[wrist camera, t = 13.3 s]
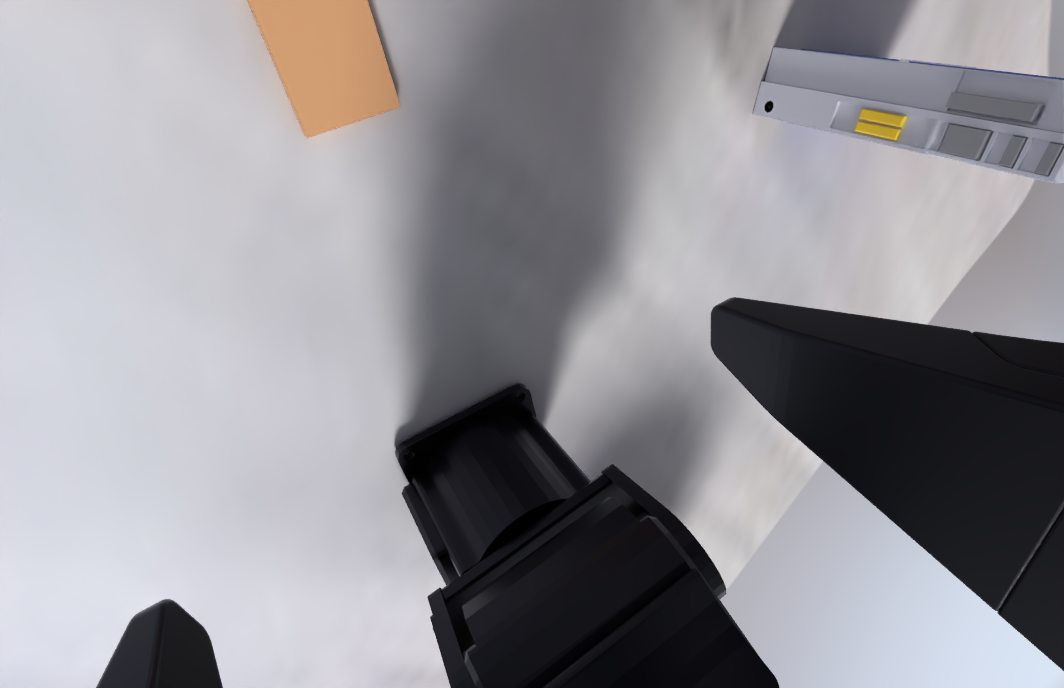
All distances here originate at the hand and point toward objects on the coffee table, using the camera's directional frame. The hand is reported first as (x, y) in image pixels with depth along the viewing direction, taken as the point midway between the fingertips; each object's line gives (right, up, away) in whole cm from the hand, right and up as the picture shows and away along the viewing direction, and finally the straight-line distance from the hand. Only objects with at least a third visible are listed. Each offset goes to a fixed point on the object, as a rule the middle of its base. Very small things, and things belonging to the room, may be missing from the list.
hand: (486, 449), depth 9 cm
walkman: (+14, +14, +18) cm, 27 cm away
